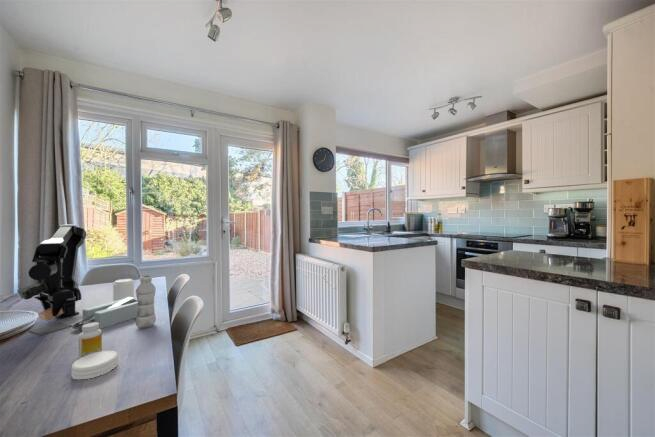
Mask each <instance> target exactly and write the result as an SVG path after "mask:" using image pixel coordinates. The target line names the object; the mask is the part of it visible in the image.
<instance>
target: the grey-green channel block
mask: <svg viewBox="0 0 655 437" xmlns="http://www.w3.org/2000/svg"><path fill="white" fill-rule="evenodd" d="M122 300H124V299H121V300H117V301H113V300H112V301H110V302H107V303H106V302H105V303H102V304H98V305H97V304H96V305H94V306H90V307H85V308H83V309H82V320H81V321H83V320H85V319H86V318H88V317H90V316H92V315H94V321H93V322H98V323H99V328H98V329H101V330H102V329H104V328H107V327H110V326H114V325H116V324H120V323H123V322H126V321H128V320H129V321H130V320H133V319H136V317H137V310H138V304H137V297H134V300H133V301H131V302H129V303H127V304H125V305H119V306H116V307H112V308H108V307H110V306H112V305H114V304H116V303H118V302H120V301H122ZM106 308H108V309H106ZM93 322H92V323H93Z"/></svg>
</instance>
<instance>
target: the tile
mask: <svg viewBox="0 0 655 437" xmlns="http://www.w3.org/2000/svg"><path fill="white" fill-rule="evenodd" d="M61 314H63V310H62V308H61V310H60V311H59V313H58V315H61ZM37 315H38V317H39V319H40V320H43V321H45V322H47V321H49V320H52V319H54V318H57V317H56V316H53V315H52V310H51V308H49V309H47V310H44V309H43V311H40V312H38V313H37ZM58 315H57V316H58Z"/></svg>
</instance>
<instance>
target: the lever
mask: <svg viewBox="0 0 655 437" xmlns="http://www.w3.org/2000/svg"><path fill="white" fill-rule="evenodd" d="M134 298H135V297H134ZM134 298H132V297H127V298H125V299H124V300H122V301H120V302H118V303H116V304H114V305H112V306H110V307H108V308H112V307H116V306H119V305H125V304H127V303H129V302H131V301H133V300H134ZM108 308H106V309H108ZM82 320H83V319H82ZM82 320H81V321H78V322H76V323H74V324H73V325H72V327H71V328H72V329H73V330H76V331H79V330H80V329H82V326H83V325H85V324H88V323H92V322H93V321H94V315H92V316H90V317H88V318H86V319H85V320H83V321H82Z"/></svg>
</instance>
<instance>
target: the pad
mask: <svg viewBox="0 0 655 437" xmlns="http://www.w3.org/2000/svg"><path fill="white" fill-rule="evenodd" d="M72 326H73V325H72V324H68V323H66V322H62V321H59V322H58V321H57V322H54V323H51V324H48V325H47V324H46V325H45V326H41V327H37V328H33V329H29V330H28V332H30V333H32V334H35V335H38V336H41V337H42V336H45V335H48V334H51V333H52V334H53V333H55V332H59V331H61V330H62V331H63V330H65V329H68V328H72Z"/></svg>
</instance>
